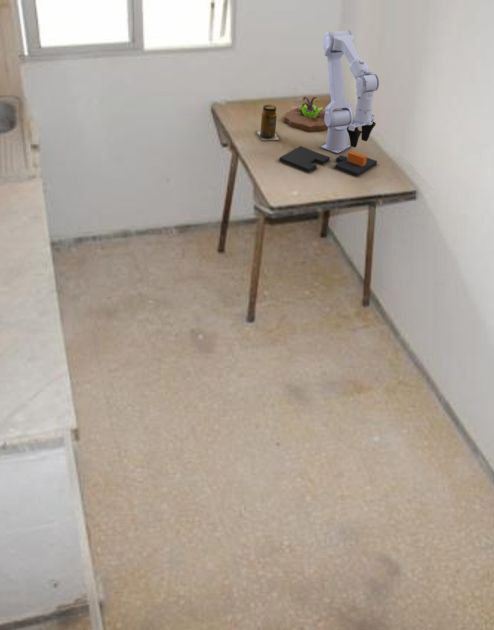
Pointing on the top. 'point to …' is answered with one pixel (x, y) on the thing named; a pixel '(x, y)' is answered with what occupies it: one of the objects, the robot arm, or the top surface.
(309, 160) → the black pad
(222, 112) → the top surface
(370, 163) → the charcoal pad
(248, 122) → the top surface
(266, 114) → the condiment
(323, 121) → the plant
